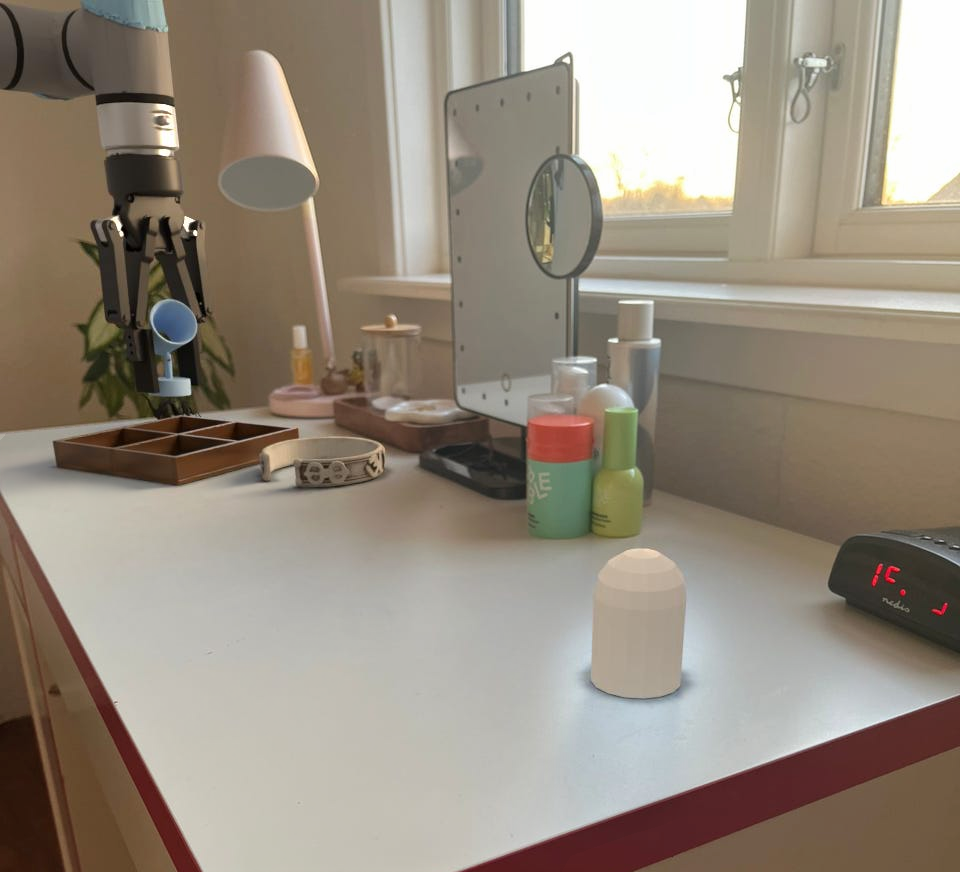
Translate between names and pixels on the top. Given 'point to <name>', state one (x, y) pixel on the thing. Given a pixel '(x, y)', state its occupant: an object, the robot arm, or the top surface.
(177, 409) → the creature
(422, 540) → the top surface
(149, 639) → the top surface
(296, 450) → the bracelet
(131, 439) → the tray
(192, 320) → the spotlight
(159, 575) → the top surface
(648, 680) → the cream domed cylinder
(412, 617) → the top surface
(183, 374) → the robot arm
